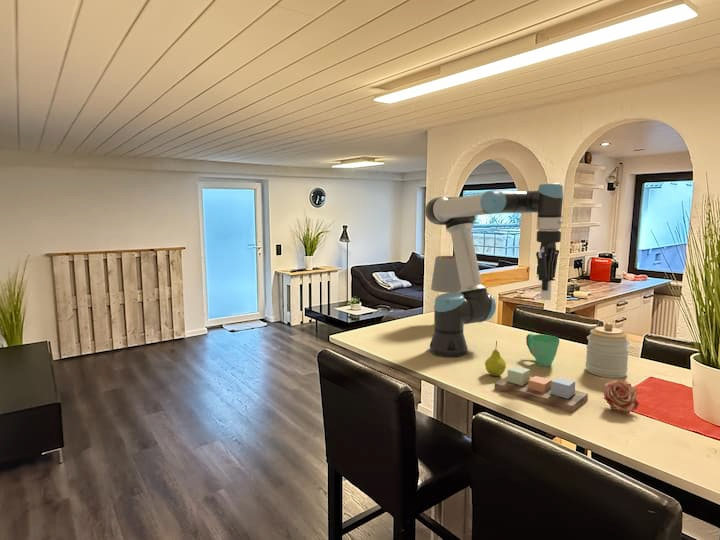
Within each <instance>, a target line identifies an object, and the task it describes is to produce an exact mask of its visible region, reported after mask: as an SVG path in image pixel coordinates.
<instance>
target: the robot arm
mask: <svg viewBox="0 0 720 540" xmlns="http://www.w3.org/2000/svg"><path fill="white" fill-rule="evenodd" d="M563 201H564V186H563V185H562V184H561V183H552V182H551V183H540V184H539V185H538V189H537V190H497V189H495V190H488V191H485V192H483V193H477V194H472V195H471V194H470V195H465V196H457V197H455V196H453V197H452V196H448V197H446V196H443V197H442V196H441V197H440V196H439V197H434V198H432V199H430V200H429V201H428V202H427V204H426V206H425V209H424V214H425V217H426V219H427V220H428V221H429V222H430V223H432V224H434V225H437V226H438V225H440V226H445V229H446V232H447V233H448V234H450V235H451V241H452V247H453V251H454V256H455V258H456V263H457V269H458V274H459V279H460V284H461V289H460V291H459V292H458V293H446V292H444V293H440V294H439V295H437V296H436V297H435V299H434V306H433V310H434V314H433V315H434V316H433V317H434V319H433V320H434V321H433V324H434V325H433V327H434V328H433V331H434V332H433V335H432V337H431V341H430V343H429V352H430V353H431V354H433V355H436V356H440V357H449V358H455V357H457V358H458V357H461V356H462V357H463V356H465V355H467V354H468V348H469V347H468V344H467V341H466V337H465V335H464V328H465V327H464V325H469V324H470V325H471V324H475V323H476V324H477V323H483V322H487V321H489V320H490V319H492V318H493V316H494V315H495V313H496V309H497V303H496V299H495V297H494V296H493V295H492V294H491V293H489V292H488V290H487V287H486V286H485V285H483V284H482V279H481V274H480V268H479V263H478V259H477V253H476V248H475V243H474V239H473V234H472V229H473V227H474V226H475V225H474V222H475V221H476V220H477V216H483V215H493V214H507V213H508V214H513V213H514V214H524V213H525V214H526V213H527V214H528V213H529V214H530V213H537V219H536V220H537V221H536V229H537V231H536V242H537V243H540V247H539V251H536V253H535V255H536V259H537V273H538V275H537V277H538V281H541V288H540V289H541V292H540V294H541V295H540V299H541V300H542V301H543V300H544V301H551V298H552V283H553V282H552V281H555V280H556V279H555V278H556V271H557V264H558V258H559V255H560V254H559V253H560V250H559V249H557V245H556V243H560V242H561V240H562V239H561V238H562V232H561V229H562V224H563V223H564V221H563V220H562V219H563V217H562V216H563V215H562V213H563V212H562V211H563V203H564V202H563Z"/></svg>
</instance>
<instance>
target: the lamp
mask: <svg viewBox="0 0 720 540" xmlns="http://www.w3.org/2000/svg"><path fill="white" fill-rule="evenodd" d="M430 289H431V291H434V292H437V293H458V292H459V291H460V289H461V284H460V279H459V274H458V269H457V263H456V258H455V255H439V256H438V255H437V256H435V260H434V266H433V273H432V279H431V287H430Z"/></svg>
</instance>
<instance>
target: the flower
mask: <svg viewBox="0 0 720 540" xmlns="http://www.w3.org/2000/svg"><path fill="white" fill-rule="evenodd" d="M602 390H603V399H604V400H605V401H606V403H607V404H608V405H609V406H610V411H609V412H611V411H613V410H616V411H618V410H619V411H624V412H625V413H627V415H628V414H630V412H632V411H636V410H638V408H639V405H640V403H639V402H640V401H639V398H637V396H638V389H637V388H636V387H632V384H631V383H629V382H628V381H624V380H621V379H619V378H616V379H615V380H613V381H611V382H606V383H603V389H602Z"/></svg>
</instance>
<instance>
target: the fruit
mask: <svg viewBox="0 0 720 540" xmlns="http://www.w3.org/2000/svg"><path fill="white" fill-rule="evenodd" d="M497 345H498V340H496V341H495V347H497ZM484 366H485V370H486V372H488V374H489V375H491V376H492V377H498V376H500V375H503V374H504V372H505V370H506V368H507V365H506V361H505V359H503V357H502V356H501V353H500V351H499V350H498V349H497V348H494V350H493V351H492V353H491V355H490V356H488V358H487V359H486V360H485V362H484Z"/></svg>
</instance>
